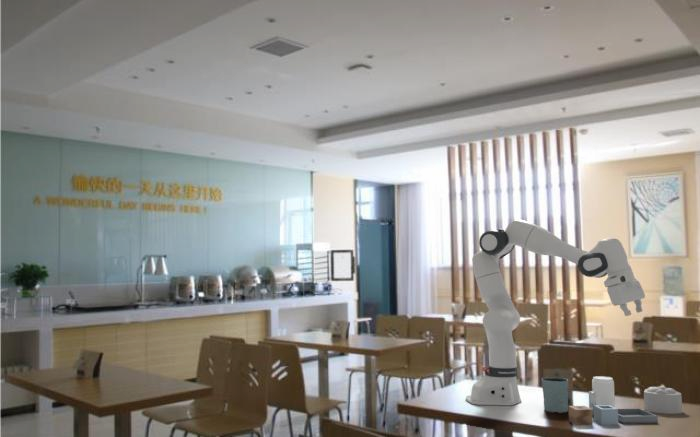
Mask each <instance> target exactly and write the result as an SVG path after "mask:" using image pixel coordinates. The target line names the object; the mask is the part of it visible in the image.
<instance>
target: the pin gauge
mask: <svg viewBox="0 0 700 437" xmlns="http://www.w3.org/2000/svg"><path fill="white" fill-rule="evenodd" d="M595 405H597V401H596V392H594V391H592V390H591V391H590V390H589V391H588V406H589V407H588V408H590V409H592V418H594V406H595Z"/></svg>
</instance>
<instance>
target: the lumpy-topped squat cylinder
mask: <svg viewBox="0 0 700 437" xmlns="http://www.w3.org/2000/svg"><path fill="white" fill-rule="evenodd" d="M682 400H683V399H682V393H681V392H679V391H676V390H675V389H674V388H671V387H665V386H664V385H663V386H662V385H660V386H649V387H648V388H645V389H644V391H643V403H644V404H643V406H644V409H643V410H646V411H647V412H650V413H658V414H666V415H667V414H669V415H670V414H672V415H675V414H682V413H683V401H682Z"/></svg>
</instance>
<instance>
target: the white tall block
mask: <svg viewBox="0 0 700 437" xmlns="http://www.w3.org/2000/svg"><path fill="white" fill-rule="evenodd" d="M591 391H594V392H596V401H597V405H610V406H612V407H615V408H616V405H615V404H616V402H615V380H614V379H613V377H611V376H604V375H603V376H602V375H599V376H593V377H592V380H591Z"/></svg>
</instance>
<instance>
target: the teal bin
mask: <svg viewBox="0 0 700 437" xmlns="http://www.w3.org/2000/svg"><path fill="white" fill-rule="evenodd" d="M541 389H542V393H543V404H544V410H545V411H546V412H549V413H554V412H558V413H559V414H562V413H563V412H564V413H567V412H569V379H568V378H565V377H559V376H558V377H557V376H555V377H554V376H551V377H550V376H548V377H543V378H541ZM558 413H557V414H558ZM564 413H563V414H564Z"/></svg>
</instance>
